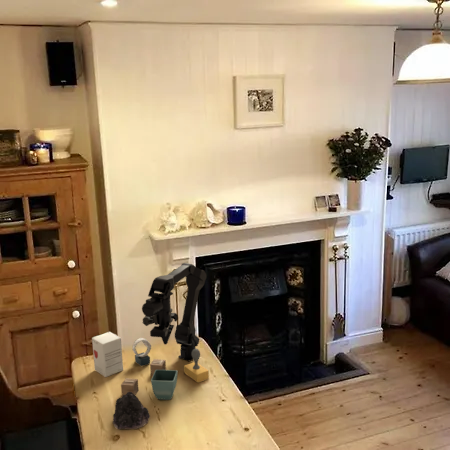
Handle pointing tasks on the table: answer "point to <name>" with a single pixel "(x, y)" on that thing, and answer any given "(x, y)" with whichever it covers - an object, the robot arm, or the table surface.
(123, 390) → the numbered block one
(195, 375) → the rubber stamp
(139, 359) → the watch
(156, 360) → the numbered block seven
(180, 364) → the table surface
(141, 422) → the crystal cluster
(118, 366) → the supplement box
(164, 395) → the flower pot
